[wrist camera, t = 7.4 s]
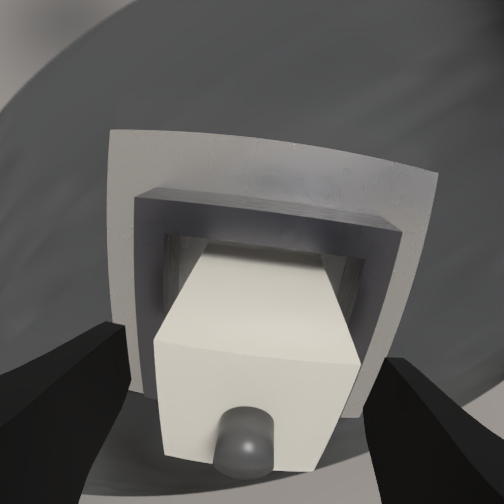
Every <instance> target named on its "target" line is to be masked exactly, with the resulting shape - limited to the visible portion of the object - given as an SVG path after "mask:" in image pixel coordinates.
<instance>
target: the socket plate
mask: <svg viewBox="0 0 504 504" xmlns="http://www.w3.org/2000/svg"><path fill="white" fill-rule="evenodd" d="M438 174H439V173H436V172H432V171H428V170H424V169H420V168H417V167H413V166H409V165H405V164H400V163H396V162H392V161H388V160H383V159H379V158H374V157H369V156H365V155H360V154H355V153H350V152H344V151H339V150H334V149H328V148H322V147H316V146H310V145H304V144H297V143H290V142H283V141H276V140H268V139H260V138H251V137H242V136H232V135H221V134H209V133H196V132H179V131H157V130H110V140H109V155H108V176H107V248H108V270H109V285H110V298H111V309H112V319H113V323H116V324H121V325H125V328H126V338H127V347H128V356H129V364H130V371H131V378H132V380H131V383H130V386H129V389H128V390H131V391H135V392H139V393H143V394H144V397H147V398H151V399H155V400H158V395H157V384H156V372H155V357H154V338H155V336H156V334H157V333H158V331H159V329H160V327H161V325H162V323H163V322H164V320H165V318H166V316H167V314H168V313H169V311H170V309H171V307H172V305H173V304H174V302H175V300H176V298H177V297H178V295H179V293H180V291H181V289H182V288H183V286H184V284H185V282H186V281H187V279H188V277H189V275H190V274H191V272H192V270H193V268H194V267H195V265H196V263H197V262H198V260H199V258H200V256H201V255H202V253H203V251H204V249H205V248H206V246H207V244H208V243H211V244H218V245H226V246H234V247H242V248H250V249H257V250H265V251H273V252H281V253H288V254H296V255H304V256H312V257H319V258H320V259H321V261H322V264H323V266H324V269H325V271H326V273H327V276H328V278H329V281H330V283H331V286H332V288H333V291H334V293H335V296H336V299H337V301H338V304H339V306H340V309H341V311H342V314H343V317H344V319H345V322H346V324H347V327H348V330H349V332H350V335H351V338H352V341H353V343H354V346H355V349H356V351H357V354H358V357H359V360H360V363H361V366H360V369H359V372H358V374H357V377H356V379H355V382H354V384H353V387H352V389H351V392H350V394H349V396H348V399H347V401H346V403H345V406H344V408H343V410H342V413H341V415H340V417H339V419H338V421H339V420H340V418H359V417H360V415H361V413H362V411H363V406H364V404H365V402H366V400H367V397H368V395H369V393H370V391H371V389H372V386H373V384H374V382H375V380H376V377H377V375H378V373H379V370H380V368H381V365H382V363H383V361H384V358H385V357H387V354H388V352H389V349H390V346H391V344H392V341H393V339H394V336H395V333H396V331H397V328H398V325H399V322H400V320H401V317H402V314H403V311H404V308H405V305H406V302H407V299H408V296H409V293H410V290H411V286H412V283H413V280H414V276H415V273H416V270H417V266H418V263H419V259H420V255H421V252H422V248H423V244H424V240H425V236H426V232H427V228H428V223H429V219H430V215H431V210H432V205H433V200H434V195H435V190H436V185H437V179H438Z"/></svg>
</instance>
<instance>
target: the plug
mask: <svg viewBox="0 0 504 504" xmlns="http://www.w3.org/2000/svg"><path fill="white" fill-rule="evenodd" d="M154 357H155V372H156V384H157V395H158V405H159V415H160V423H161V432H162V439H163V447H164V454H165V455H168V456H172V457H177V458H182V459H187V460H193V461H198V462H204V463H210V464H213V466H214V468H215V469H216V470H217V471H218V472H220V473H221V474H223V475H225V476H228V477H231V478H235V479H242V480H252V479H258V478H262V477H265V476H267V475H268V474H270V473H271V472H272V471H273V470H276V471H298V472H313V471H314V469H315V467H316V465H317V463H318V461H319V459H320V457H321V455H322V453H323V451H324V449H325V447H326V445H327V443H328V441H329V439H330V437H331V435H332V432H333V430H334V428H335V426H336V424H337V422H338V419H339V417H340V415H341V413H342V410H343V408H344V406H345V403H346V401H347V399H348V396H349V394H350V392H351V389H352V387H353V384H354V382H355V379H356V377H357V374H358V372H359V369H360V366H361V363H360V360H359V357H358V354H357V351H356V349H355V346H354V343H353V341H352V338H351V335H350V332H349V330H348V327H347V324H346V322H345V319H344V317H343V314H342V311H341V309H340V306H339V304H338V301H337V299H336V296H335V293H334V291H333V288H332V286H331V283H330V281H329V278H328V276H327V273H326V271H325V269H324V266H323V264H322V261H321V259H320V258H319V257H312V256H304V255H296V254H288V253H281V252H273V251H265V250H257V249H250V248H242V247H234V246H226V245H218V244H211V243H208V244H207V246H206V248H205V249H204V251H203V253H202V255H201V256H200V258H199V260H198V262H197V263H196V265H195V267H194V268H193V270H192V272H191V274H190V275H189V277H188V279H187V281H186V282H185V284H184V286H183V288H182V289H181V291H180V293H179V295H178V297H177V298H176V300H175V302H174V304H173V305H172V307H171V309H170V311H169V313H168V314H167V316H166V318H165V320H164V322H163V323H162V325H161V327H160V329H159V331H158V333H157V334H156V336H155V338H154Z"/></svg>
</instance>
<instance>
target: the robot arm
mask: <svg viewBox="0 0 504 504" xmlns="http://www.w3.org/2000/svg"><path fill="white" fill-rule="evenodd" d="M131 380H132V378H131V371H130V364H129V356H128V347H127V338H126V328H125V325H121V324H116V323H112V322H107V321H106V322H103V323H101V324H99V325H97V326H95V327H93V328H92V329H90V330H88V331H86V332H84V333H83V334H81V335H79V336H77V337H75V338H74V339H72V340H70V341H68V342H66V343H65V344H63V345H61V346H59V347H57V348H56V349H54V350H52V351H50V352H48V353H46V354H44V355H42V356H40V357H38V358H36V359H34V360H32V361H30V362H28V363H26V364H24V365H22V366H20V367H18V368H16V369H14V370H11V371H9V372H7V373H4V374H2V375H0V504H78V503H79V499H80V496H81V493H82V490H83V487H84V484H85V481H86V478H87V476H88V473H89V471H90V469H91V467H92V464H93V462H94V460H95V458H96V457H97V455H98V453H99V451H100V449H101V447H102V445H103V443H104V441H105V439H106V437H107V435H108V433H109V431H110V430H111V428H112V426H113V424H114V422H115V420H116V418H117V416H118V414H119V412H120V410H121V408H122V405H123V403H124V400H125V397H126V395H127V392H128V389H129V386H130V383H131ZM363 416H364V425H365V433H366V439H367V443H368V448H369V452H370V455H371V459H372V464H373V467H374V472H375V476H376V480H377V484H378V487H379V492H380V497H381V502H382V504H504V439H502V438H501V437H499V436H497V435H496V434H494V433H493V432H491V431H490V430H489V429H487V428H486V427H484V426H483V425H482V424H481V423H479V422H478V421H477V420H476V419H474V418H473V417H472V416H471V415H469V414H468V413H467V412H465V411H464V410H463V409H462V408H461V407H460V406H458V405H457V404H456V403H455V402H454V401H453V400H452V399H450V398H449V397H448V396H447V395H446V394H445V393H444V392H442V391H441V390H440V389H439V388H438V387H437V386H436V385H435V384H434V383H432V382H431V381H430V380H429V379H428V378H427V377H426V376H425V375H424V374H422V373H421V372H420V371H419V370H418V369H417V368H416V367H414V366H413V365H412V364H411V363H409V362H408V361H407V360H405V359H404V358H387V357H385V358H384V361H383V363H382V365H381V368H380V370H379V373H378V375H377V377H376V380H375V382H374V384H373V386H372V389H371V391H370V393H369V395H368V397H367V400H366V402H365V404H364V406H363Z"/></svg>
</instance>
